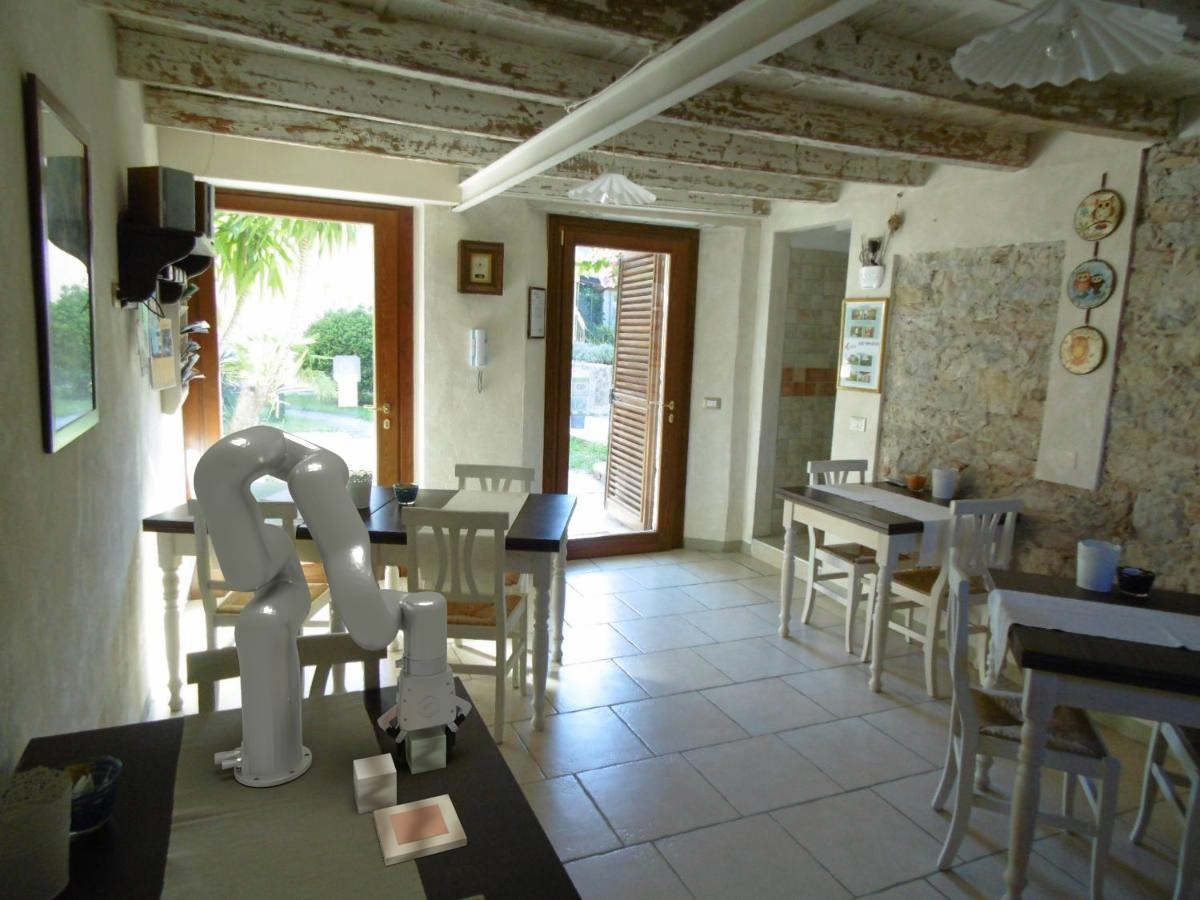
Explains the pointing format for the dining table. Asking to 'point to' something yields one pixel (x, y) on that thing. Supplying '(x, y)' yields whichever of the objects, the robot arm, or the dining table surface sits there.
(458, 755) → the dining table surface
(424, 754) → the sage block
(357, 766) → the cream block
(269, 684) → the robot arm
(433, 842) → the board
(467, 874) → the dining table surface
